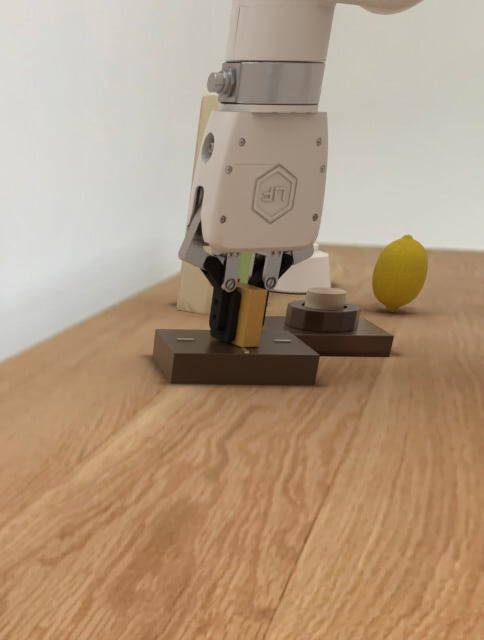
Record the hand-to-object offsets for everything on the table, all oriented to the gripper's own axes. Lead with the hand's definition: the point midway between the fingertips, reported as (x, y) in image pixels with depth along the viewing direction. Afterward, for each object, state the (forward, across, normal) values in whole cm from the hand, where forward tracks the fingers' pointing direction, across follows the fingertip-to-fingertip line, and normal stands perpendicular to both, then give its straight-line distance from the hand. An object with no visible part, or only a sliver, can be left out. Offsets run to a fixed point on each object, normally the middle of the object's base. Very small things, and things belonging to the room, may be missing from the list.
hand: (234, 336), depth 95 cm
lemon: (+4, +33, +23) cm, 41 cm away
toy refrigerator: (+4, +15, +29) cm, 33 cm away
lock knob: (0, 0, 0) cm, 0 cm away
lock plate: (+3, 0, 0) cm, 3 cm away
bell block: (+3, +14, +8) cm, 17 cm away
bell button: (0, +14, +8) cm, 16 cm away
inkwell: (+4, +28, +37) cm, 47 cm away
